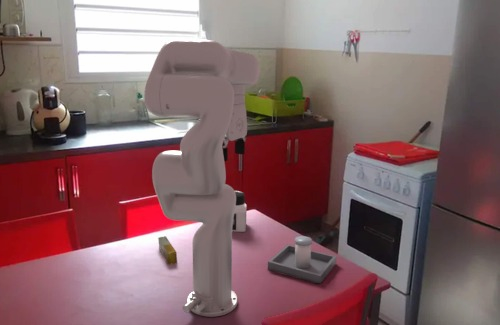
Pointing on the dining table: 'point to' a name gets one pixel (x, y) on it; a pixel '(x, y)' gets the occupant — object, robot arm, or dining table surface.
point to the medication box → (167, 250)
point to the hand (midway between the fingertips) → (231, 157)
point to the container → (239, 213)
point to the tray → (315, 273)
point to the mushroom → (303, 251)
